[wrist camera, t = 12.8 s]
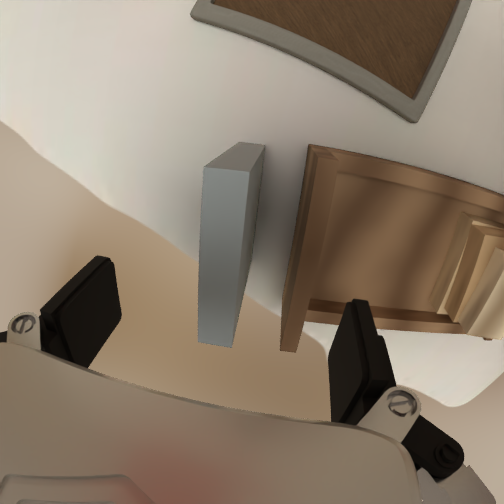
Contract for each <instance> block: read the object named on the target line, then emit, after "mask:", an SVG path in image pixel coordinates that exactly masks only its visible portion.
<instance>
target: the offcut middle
mask: <svg viewBox="0 0 504 504" xmlns="http://www.w3.org/2000/svg"><path fill="white" fill-rule="evenodd" d="M496 247H497V248H499V249H501V250H504V230H503V229H497V228H492V227H486V226H480V225H474V224H471V228H470V231H469V235H468V239H467V242H466V245H465V249H464V252H463V255H462V259H461V262H460V265H459V268H458V271H457V274H456V277H455V280H454V282H453V285H452V288H451V291H450V293H449V296H448V299H447V301H446V304H445V306H444V308H445V310H446V312H447V313H448V315H449V316H450V318H451V320H452V321H453V322H458V318H459V317H460V315H461V313H462V312H463V310H464V308H465V306H466V305H467V303H468V301H469V299H470V298H471V296H472V294H473V292H474V290H475V288H476V287H477V285H478V283H479V281H480V279H481V277H482V275H483V273H484V271H485V269H486V267H487V265H488V263H489V261H490V259H491V256H492V254H493V252H494V250H495V248H496Z"/></svg>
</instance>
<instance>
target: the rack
mask: <svg viewBox="0 0 504 504" xmlns="http://www.w3.org/2000/svg"><path fill="white" fill-rule="evenodd" d="M461 212H465V213H468V214H472V215H476V216H479V217H483V218H486V219H489V220H493V221H496V222H499V223H502V224H504V195H502V194H499V193H497V192H494V191H491V190H488V189H485V188H483V187H480V186H477V185H474V184H471V183H468V182H465V181H462V180H459V179H455V178H452V177H449V176H446V175H442V174H439V173H436V172H432V171H429V170H425V169H421V168H418V167H414V166H410V165H406V164H403V163H399V162H395V161H390V160H386V159H382V158H378V157H373V156H369V155H364V154H360V153H355V152H350V151H345V150H340V149H334V148H329V147H323V146H318V145H312V144H309V145H308V152H307V159H306V165H305V172H304V178H303V184H302V191H301V197H300V203H299V209H298V215H297V221H296V226H295V232H294V238H293V243H292V249H291V255H290V260H289V265H288V271H287V276H286V281H285V287H284V292H283V297H282V317H281V340H280V351H287V352H296V350H297V347H298V343H299V339H300V336H301V332H302V328H303V325H304V321H307V322H316V323H325V324H334V325H339V324H340V321H341V318H342V315H343V312H344V309H345V306H346V303H347V302H351V301H352V300H353V299H361V300H367V301H368V302H369V306H370V309H371V312H372V316H373V319H374V323H375V326H376V329H387V330H400V331H415V332H431V333H452V334H466V333H465V331H464V330H463V328H462V326H461V325H460V323H459V322H453V321H452V320H451V318H450V316H449V315H448V314H437V313H436V311H435V310H434V308H433V306H432V304H431V303H430V301H429V298H430V296H431V294H432V291H433V289H434V286H435V284H436V282H437V279H438V277H439V274H440V271H441V269H442V266H443V264H444V261H445V258H446V255H447V253H448V250H449V247H450V244H451V241H452V238H453V235H454V232H455V229H456V226H457V223H458V219H459V216H460V213H461ZM483 339H484V340H492V339H491V338H484V337H483Z"/></svg>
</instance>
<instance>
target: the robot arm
mask: <svg viewBox="0 0 504 504" xmlns="http://www.w3.org/2000/svg"><path fill="white" fill-rule="evenodd" d="M40 312H41V315H40V316H39V317H38V316H37V315H36V314H35V313H31V312H24V313H20V314H18V315H16V316H15V317H14V318H12V319H11V321H10V322H9V325H8V331H5V332H1V333H0V504H496V501H495V499H494V496H493V495H492V494H491V493H490V491H489V490H488V489H487V487H486V486H485V485H484V483H483V482H482V481H481V480H480V478H479V477H478V476H477V474H476V473H475V472H474V470H473V469H472V468H471V467H470V465H469V466H468V467H466V466H465V465H464V464H463V461H464V452H463V449H462V447H461V446H460V444H459V443H458V442H457V441H455V440H454V439H453V438H451V437H450V436H448V435H447V434H446V433H444V432H443V431H442V430H440V429H439V428H437V427H436V426H435V425H433V424H432V423H431V422H429V421H428V420H426V419H425V418H424V417H422V416H421V415H420V412H421V402H420V400H419V398H418V397H417V395H416V394H415V393H414V392H412V391H411V390H409V389H407V388H404V387H397V386H396V382H395V378H394V374H393V370H392V366H391V362H390V359H389V355H388V351H387V348H386V344H385V340H384V338H383V336H380V335H378V334H377V330H376V326H375V323H374V319H373V316H372V312H371V309H370V306H369V302H368V301H367V300H361V299H353V300H352V301H351V302H347V303H346V306H345V309H344V312H343V315H342V318H341V321H340V324H339V326H338V329H337V332H336V335H335V338H334V340H333V343H332V346H331V348H330V351H329V355H328V366H329V383H330V401H331V422H328V421H320V420H310V419H302V418H294V417H285V416H279V415H272V414H265V413H258V412H252V411H246V410H240V409H235V408H230V407H224V406H219V405H214V404H210V403H205V402H200V401H196V400H192V399H188V398H183V397H179V396H175V395H171V394H167V393H164V392H160V391H156V390H153V389H149V388H146V387H142V386H139V385H136V384H133V383H129V382H126V381H123V380H119V379H117V378H114V377H110V376H107V375H105V374H102V373H99V372H96V371H93V370H90V369H88V367H89V366H90V364H91V363H92V361H93V359H94V358H95V357H96V355H97V353H98V352H99V351H100V349H101V348H102V346H103V345H104V343H105V342H106V340H107V339H108V337H109V336H110V334H111V333H112V332H113V330H114V329H115V327H116V326H117V325H118V323H119V321H120V319H121V316H122V313H121V307H120V301H119V295H118V288H117V282H116V275H115V267H114V263H113V262H111V260H110V258H108V257H103V256H95V257H94V258H93V259H92V260H91V261H90V262H89V263H88V264H87V265H86V266H84V267H83V268H82V269H81V270H80V271H79V272H78V273H77V274H76V275H75V276H74V277H73V278H72V279H71V280H70V281H68V282H67V283H66V285H64V286H63V287H62V288H61V289H60V290H59V291H58V292H57V293H56V294H55V295H54V296H53V297H52V298H51V299H50V300H49V301H48V302H47V303H46V304H45V305H44V306H43V307H42V308H41V309H40ZM422 500H423V501H422Z"/></svg>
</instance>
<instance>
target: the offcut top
mask: <svg viewBox="0 0 504 504" xmlns="http://www.w3.org/2000/svg"><path fill="white" fill-rule="evenodd" d="M458 322H459V323H460V325H461V326H462V328H463V330H464V331H465V333H466V335H471V336H478V337H484V338H491V339H498V340H501V339H502V338H503V336H504V250H501V249H499V248H497V247H496V248H495V250H494V252H493V254H492V256H491V259H490V261H489V263H488V265H487V267H486V269H485V271H484V273H483V275H482V277H481V279H480V281H479V283H478V285H477V287H476V288H475V290H474V292H473V294H472V296H471V298H470V299H469V301H468V303H467V305H466V306H465V308H464V310H463V312H462V313H461V315H460V317H459V318H458Z"/></svg>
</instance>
